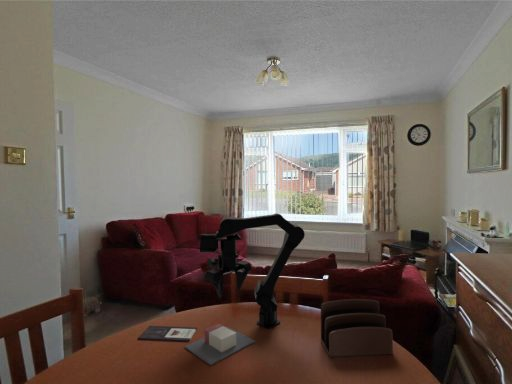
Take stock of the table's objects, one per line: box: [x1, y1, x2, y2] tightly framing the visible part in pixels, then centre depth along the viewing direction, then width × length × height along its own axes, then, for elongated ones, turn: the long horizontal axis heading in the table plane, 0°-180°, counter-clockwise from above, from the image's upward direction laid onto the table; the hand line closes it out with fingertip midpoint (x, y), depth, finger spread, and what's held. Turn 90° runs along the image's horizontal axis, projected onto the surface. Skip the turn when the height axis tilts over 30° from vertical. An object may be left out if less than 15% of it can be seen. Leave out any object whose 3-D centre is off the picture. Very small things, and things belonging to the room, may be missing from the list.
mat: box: [184, 326, 256, 367], centre depth 100 cm, size 18×14×1 cm
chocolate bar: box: [137, 325, 198, 343], centre depth 108 cm, size 9×1×18 cm
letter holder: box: [320, 298, 394, 358], centre depth 98 cm, size 10×20×14 cm, turn 93°
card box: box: [204, 323, 236, 352], centre depth 100 cm, size 9×6×4 cm, turn 45°
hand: (229, 293), depth 114 cm, fingers open, 9 cm apart
